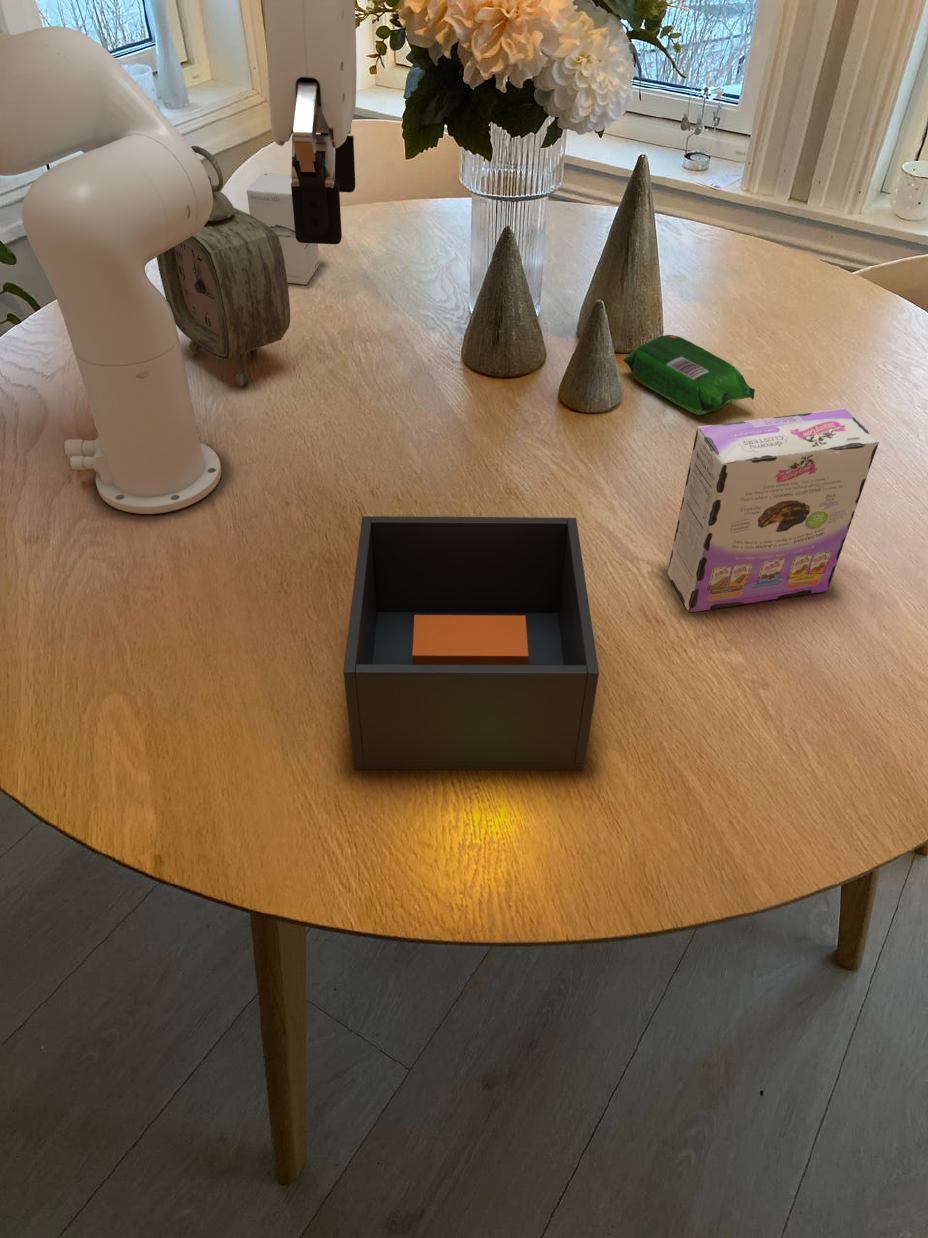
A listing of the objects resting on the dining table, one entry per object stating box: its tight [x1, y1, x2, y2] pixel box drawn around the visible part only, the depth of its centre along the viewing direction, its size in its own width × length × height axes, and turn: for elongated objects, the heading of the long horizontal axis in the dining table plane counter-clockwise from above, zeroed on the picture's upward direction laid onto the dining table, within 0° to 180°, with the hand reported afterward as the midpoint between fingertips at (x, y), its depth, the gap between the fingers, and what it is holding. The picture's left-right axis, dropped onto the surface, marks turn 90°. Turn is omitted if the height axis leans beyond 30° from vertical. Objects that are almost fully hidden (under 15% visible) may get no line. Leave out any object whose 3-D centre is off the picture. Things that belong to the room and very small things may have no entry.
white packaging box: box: [246, 172, 320, 286], centre depth 133 cm, size 7×7×13 cm
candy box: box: [666, 407, 880, 613], centre depth 84 cm, size 14×6×16 cm, turn 102°
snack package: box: [622, 334, 756, 416], centre depth 112 cm, size 7×16×5 cm, turn 36°
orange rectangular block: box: [412, 615, 529, 665], centre depth 77 cm, size 9×5×5 cm, turn 90°
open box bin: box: [342, 515, 600, 771], centre depth 76 cm, size 18×18×11 cm
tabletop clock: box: [156, 145, 291, 388], centre depth 110 cm, size 14×9×25 cm, turn 42°
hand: (327, 214), depth 71 cm, fingers open, 9 cm apart
